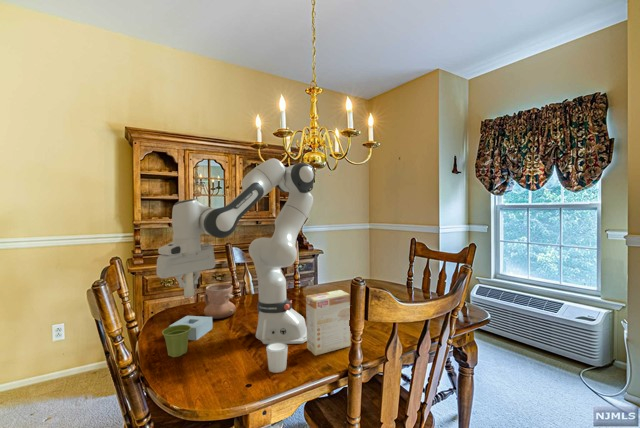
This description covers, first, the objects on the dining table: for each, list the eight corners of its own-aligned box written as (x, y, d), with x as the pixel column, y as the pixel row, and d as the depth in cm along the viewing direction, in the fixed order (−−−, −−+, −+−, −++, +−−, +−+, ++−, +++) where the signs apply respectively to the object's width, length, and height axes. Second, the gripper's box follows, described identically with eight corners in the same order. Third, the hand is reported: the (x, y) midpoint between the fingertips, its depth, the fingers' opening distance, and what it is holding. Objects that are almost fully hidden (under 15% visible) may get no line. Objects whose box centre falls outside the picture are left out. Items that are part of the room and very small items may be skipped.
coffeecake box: (341, 339, 122) (340, 289, 121) (351, 346, 115) (350, 293, 115) (306, 348, 114) (305, 295, 114) (315, 356, 108) (314, 300, 108)
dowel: (195, 294, 111) (194, 266, 111) (192, 297, 108) (191, 268, 108) (186, 294, 111) (185, 266, 110) (182, 297, 108) (181, 268, 107)
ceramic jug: (244, 314, 152) (243, 285, 151) (220, 324, 139) (219, 292, 139) (218, 308, 161) (217, 281, 160) (194, 317, 148) (193, 287, 148)
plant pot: (160, 361, 106) (159, 336, 106) (165, 349, 115) (164, 326, 115) (190, 357, 109) (189, 332, 108) (193, 346, 118) (192, 323, 117)
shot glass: (288, 362, 104) (288, 341, 104) (287, 373, 97) (287, 351, 97) (268, 363, 104) (267, 342, 104) (265, 374, 97) (264, 351, 97)
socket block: (212, 328, 134) (212, 317, 134) (196, 340, 123) (196, 327, 122) (187, 327, 137) (186, 315, 136) (169, 338, 125) (168, 326, 125)
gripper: (208, 242, 119) (209, 278, 120) (153, 249, 103) (154, 291, 103) (218, 243, 115) (219, 280, 116) (162, 250, 99) (164, 294, 99)
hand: (188, 285), depth 109 cm, fingers closed on dowel, 3 cm apart
